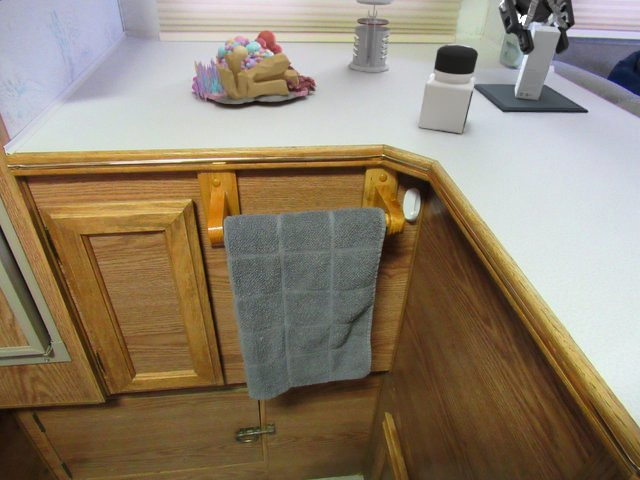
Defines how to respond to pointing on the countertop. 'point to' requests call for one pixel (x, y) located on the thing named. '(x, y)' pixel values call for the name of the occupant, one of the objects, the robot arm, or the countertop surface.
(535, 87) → the cosmetic box
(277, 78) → the candy landscape model
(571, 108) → the slate mat
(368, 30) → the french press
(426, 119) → the medicine bottle
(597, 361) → the countertop surface
